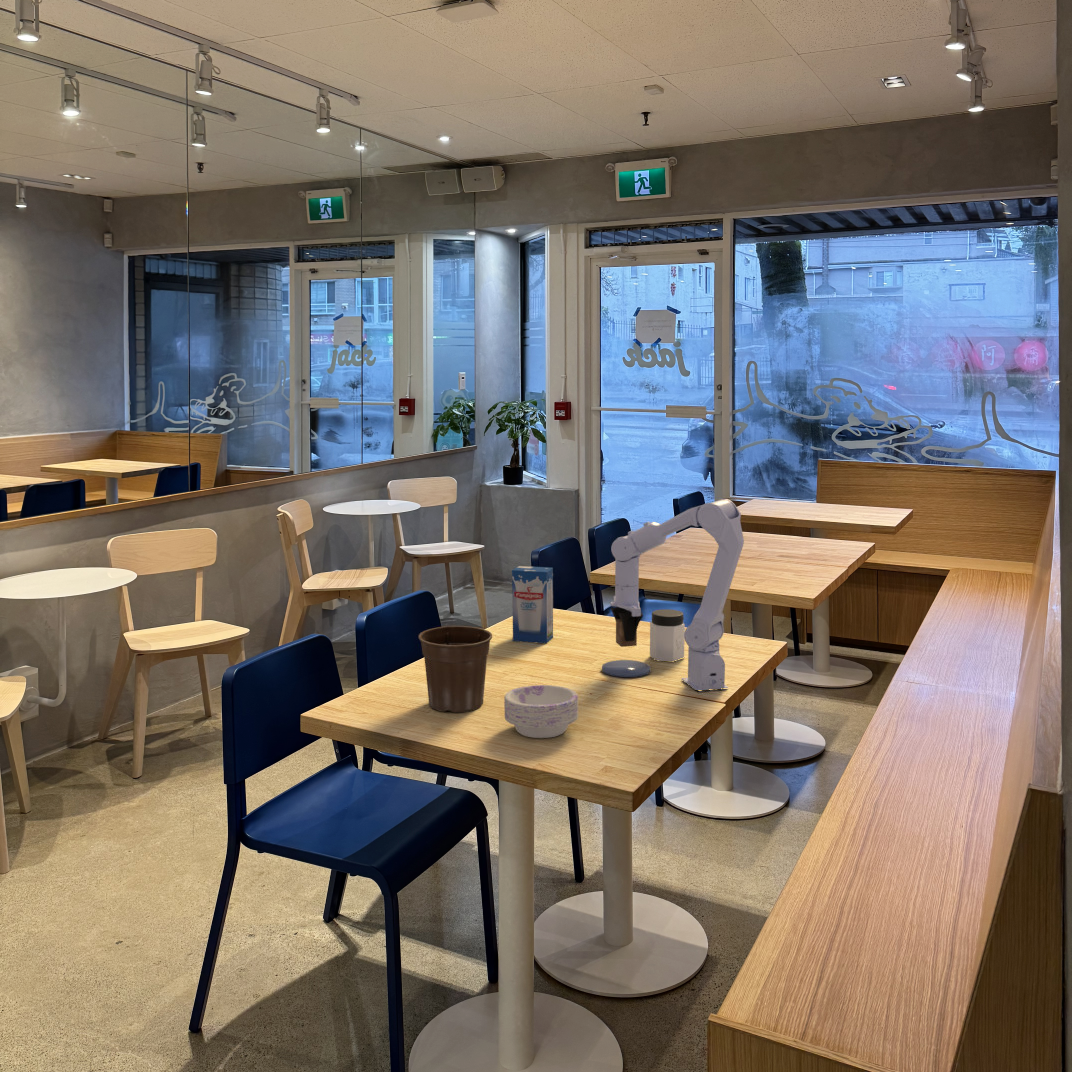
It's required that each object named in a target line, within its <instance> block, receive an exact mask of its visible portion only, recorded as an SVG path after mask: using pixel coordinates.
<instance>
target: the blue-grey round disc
mask: <svg viewBox="0 0 1072 1072" xmlns="http://www.w3.org/2000/svg"><path fill="white" fill-rule="evenodd" d="M601 671H602V672H603V673H604V674H606V675H609V676H612V677H617V678H638V676H639V677H643V675H644V676H646V675H648V674H650V673H651V666H650V665H649V664H648V663H646V662H644V661H643V662H642V661H640V660H630V659H620V660H619V659H618V660H612V661H611V660H610V661H607V662H605V663H603V664H602V665H601Z"/></svg>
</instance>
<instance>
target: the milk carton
mask: <svg viewBox="0 0 1072 1072" xmlns="http://www.w3.org/2000/svg"><path fill="white" fill-rule="evenodd" d="M553 569H554V568H553V567H548V566H547V567H546V566H545V567H543V566H529V565H528V566H526V565H518V566H516V567H515V568H513V569H512V570H511V578H512V579H511V584H512V585H511V589H512V591H511V592H512V593H511V594H512V595H511V596H512V597H511V599H512V600H511V601H512V604H511V605H512V642H520V641H522V642H523V643H524V642H525V643H534V642H537V643H536V644H548V643H550V641H551V640H552V639H553V638H554V590H553V589H554V587H553V586H554V578H553V577H554V573H553V571H554V570H553ZM522 642H521V643H522ZM547 642H548V643H547Z"/></svg>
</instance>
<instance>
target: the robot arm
mask: <svg viewBox="0 0 1072 1072" xmlns="http://www.w3.org/2000/svg"><path fill="white" fill-rule="evenodd" d="M741 517H742V514H741V512H740V510H739V508H738V507H737V505H736V504H735V503H734V502H733V501H732V500H730V499H728V498H721V499H718V500H716V501H713V502H707V503H704V504H702V505H698V506H694V507H690V508H688V509H686V510H685V511H683V512H681V513H679V514H677V515H676V516H673V517H672V518H670V519H667V520H666V521H664V522H662V523H659V522H656V521H646V522H644V523H643V524H642V525H643V526H642V527H640V528H638V529H636V530H630V531H628V532H627V535H625V536H620V537H617V538H616V539H615V540H614V541H613V542H612V544H611V550H610V551H611V555H612V556H613V557H614V559H615V563H614V565H615V567H614V568H615V570H614V571H615V572H614V578H615V580H614V583H615V586H614V587H615V588H614V589H615V591H614V596H613V597H612V598H613V601H611V602H610V606H611V608H610V611H611V612H612V615H613V617H614V620H615V621H616V619H621V621H622V624H623V630H624V638H625V641H634V639H635V635H636V631H637V630H638V626H639V624H640V623H641V621H642V618H643V617H644V614H643V613H642V609H641V607H640V601H639V589H640V587H639V584H640V583H639V581H640V579H639V578H640V577H639V575H640V573H639V572H640V571H639V570H640V557H641V555H642V554H644V553H647V552H648V551H650V550H651V551H652V550H653V549H655V548H656V547H659V546H662V545H663V544H665V542H666V539H667V537H668V536H669V535H671V534H674V533H676V532H678V531H681V530H683V529H686V528H687V527H690V526H694V527H696V528H697V527H700V526H701V528H702V529H703V530H705V532H706V533H708V534H709V535H710V536H711V537H712V538H713V539H714V540H715V542H716V543H717V546H718V547H717V552H716V554H715V557H714V561H713V565H712V568H711V571H710V574H709V577H708V581H707V583H706V588H705V590H704V593H703V597H702V599H701V603H700V605H699V606H700V607H699V608H698V610H697V612H696V613H695V614H694V616H693V617H692V621H691V623H690V624H689V625H688V626H687V627H685V634H684V638H685V639H684V642H685V643H686V645H687V646H688V655H687V660H688V661H687V677H682V678H681V681H682V680H683V681H685V682H686V683H687V684H689V685H690V686H691V687H692V688H691V687H690V686H689V685H688V686H689V687H690V688H691V689H693V688H694V689H695V690H709V689H721V688H728V689H729V686H728V685H726V684H725V679H726V678H725V675H726V674H725V673H726V662H725V660H724V659H723V657H722V656H721V654H720V643H719V642H720V641H719V640H721V639H722V638H723V636H724V631H725V630H724V629H725V628H724V619H725V615H724V613H723V610H724V607H725V604H726V601H727V598H728V595H729V592H730V588H731V585H732V582H733V578H734V576H735V572H736V569H737V565H738V563H739V559H740V557H741V554H742V551H743V548H744V544H745V540H744V533H743V529H742V523H741ZM637 632H638V631H637ZM684 679H685V680H684ZM683 681H682V682H683ZM685 682H684V683H685ZM686 683H685V684H686ZM687 684H686V685H687ZM694 689H693V690H694ZM695 690H694V691H695ZM721 690H722V689H721Z"/></svg>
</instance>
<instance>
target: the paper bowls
mask: <svg viewBox="0 0 1072 1072" xmlns="http://www.w3.org/2000/svg"><path fill="white" fill-rule="evenodd" d="M503 699H504V701H503V703H504V704H503V705H504V711H503V712H504V719H505V721H506V722H507V723H509V724H511V725H513V726H514V727H515V730H516V731H517V733H519V734H520V735H522V736H524V737H528V738H534V739H549V738H554V737H555V738H556V737H558V736H560V735H562V734H564V733H565V732H566V731H567V730H568V727H569V725H571V724H573V723H575V722H576V721H577V720H578V717H579V715H578V714H579V696H578V694H577V692H576V691H575V690H573V689H571V688H568V687H564V686H560V685H552V684H551V685H550V684H549V685H548V684H539V685H538V684H535V685H526V686H521V687H517V688H513V689H511V690H509V691H507V692H506V693H505V694H504V698H503Z"/></svg>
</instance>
